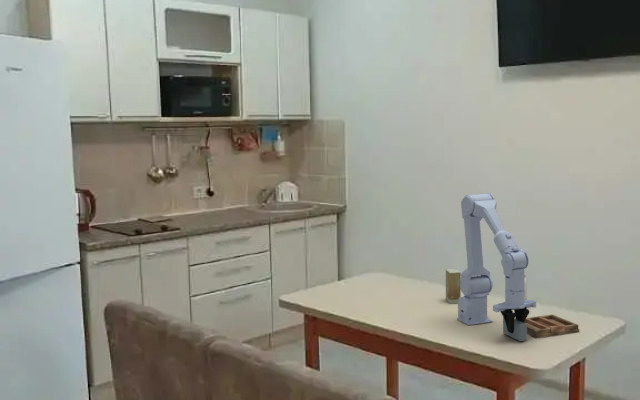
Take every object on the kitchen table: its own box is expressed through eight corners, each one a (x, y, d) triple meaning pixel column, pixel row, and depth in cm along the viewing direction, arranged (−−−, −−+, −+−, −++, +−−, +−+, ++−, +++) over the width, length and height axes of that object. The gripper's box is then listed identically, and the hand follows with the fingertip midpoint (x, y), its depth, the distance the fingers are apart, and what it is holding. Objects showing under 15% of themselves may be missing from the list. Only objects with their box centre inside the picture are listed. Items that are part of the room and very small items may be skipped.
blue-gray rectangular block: (519, 341, 202) (519, 325, 202) (503, 332, 211) (503, 317, 210) (526, 340, 203) (526, 324, 202) (509, 331, 211) (509, 316, 211)
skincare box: (445, 299, 255) (444, 268, 253) (456, 299, 255) (455, 268, 254) (450, 304, 248) (449, 272, 247) (461, 303, 249) (460, 271, 247)
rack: (536, 338, 206) (536, 329, 205) (510, 326, 219) (510, 317, 219) (579, 331, 211) (579, 323, 210) (551, 320, 224) (551, 312, 224)
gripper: (501, 294, 199) (501, 338, 201) (542, 289, 203) (542, 332, 205) (489, 289, 206) (489, 331, 207) (528, 284, 210) (528, 326, 212)
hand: (514, 331), depth 207 cm, fingers closed on blue-gray rectangular block, 2 cm apart
